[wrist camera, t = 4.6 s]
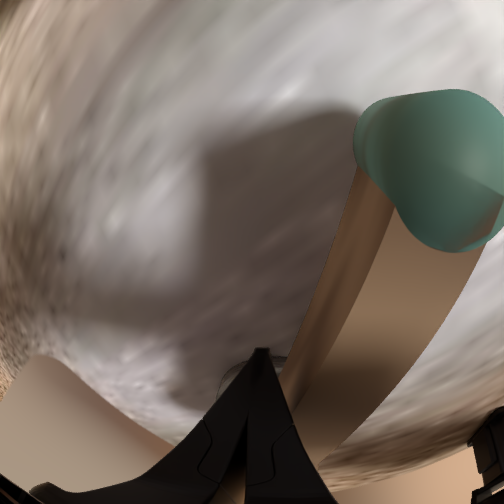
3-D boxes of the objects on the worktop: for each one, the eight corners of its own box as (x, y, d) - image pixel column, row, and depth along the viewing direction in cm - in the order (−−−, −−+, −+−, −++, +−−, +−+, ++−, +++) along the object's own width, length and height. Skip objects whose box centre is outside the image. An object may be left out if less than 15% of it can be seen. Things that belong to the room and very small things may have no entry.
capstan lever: (305, 439, 16) (298, 497, 13) (233, 424, 17) (217, 482, 13) (469, 130, 7) (554, 153, 3) (336, 75, 7) (363, 40, 4)
